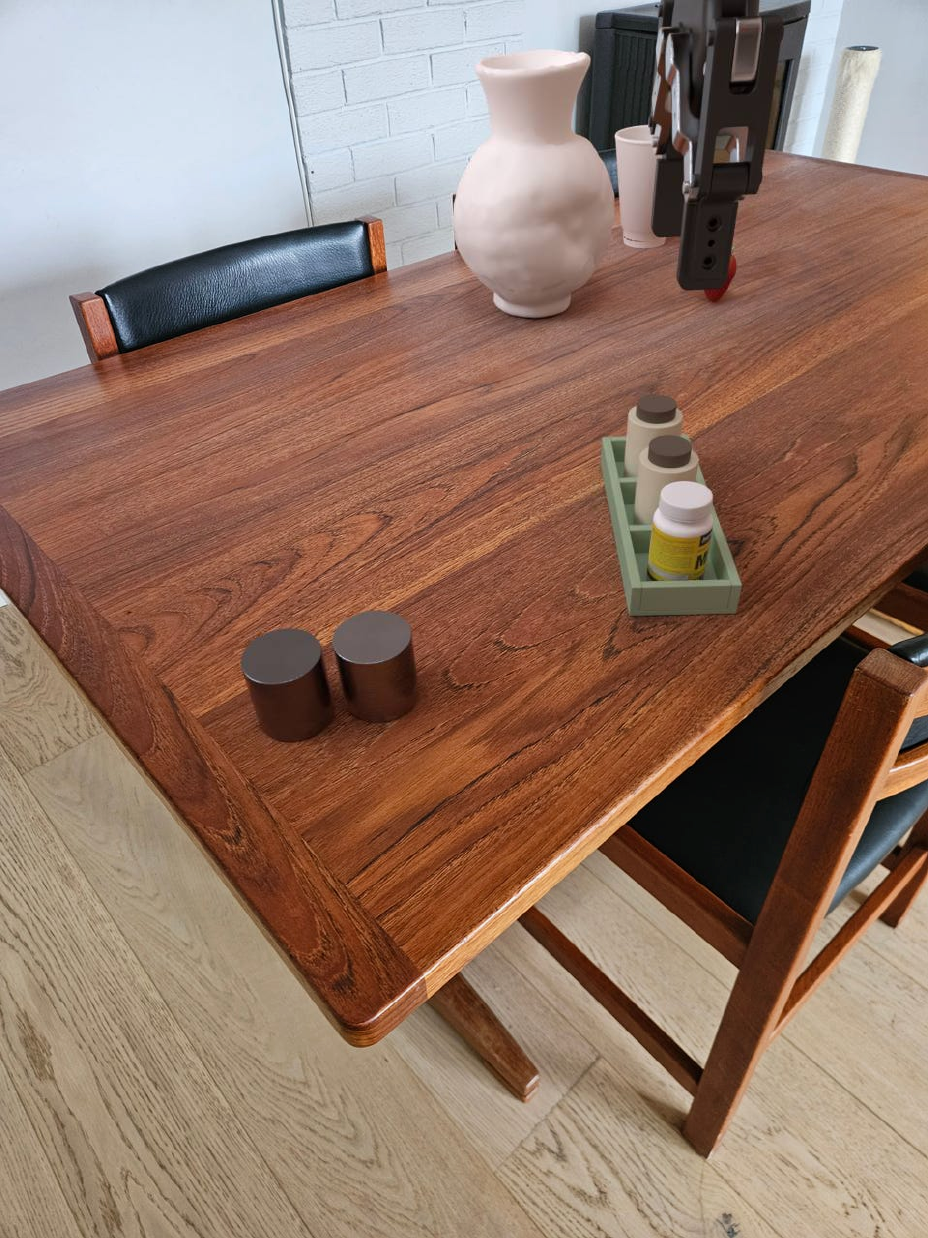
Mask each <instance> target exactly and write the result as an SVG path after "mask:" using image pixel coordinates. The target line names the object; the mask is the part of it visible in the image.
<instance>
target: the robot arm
mask: <svg viewBox="0 0 928 1238" xmlns="http://www.w3.org/2000/svg"><path fill="white" fill-rule="evenodd" d="M760 1H761V0H660V4H658V6H657V18H658V27H657V36H656V37H657V39H656V46H655V60H654V61H655V62H654V71H653V72H654V73H653V84H652V94H651V107H650V115H649V116H648V121H647V125H648V127H650V134H651V135H654V137H652V148H654V155H662V158H659V159H656V170H655V182H654V194H653V205H652V217H651V229H652V231H653V233H654V235H655V236H657V237H666V238H678V237H679V238H680V240H679V248H678V256H677V257H678V258H677V265H676V276H675V278H676V281H677V283H678V286H679V287H680V288H681V290H683V291H687V292H688V291H690V292H691V291H704V290H715V289H719V288H721V287H722V286H723V285H724V284H725V283H726V281H727V277H728V270H729V264H730V257H731V253H732V251H733V250H732V247H733V243H734V237H735V230H736V221H737V216H738V209H739V203H740V202H741V201H744V200H745V199H746V196H750V195H757V194H758V192H759V190H760V185H761V184H762V181H763V176H764V175H763V168H764V167H763V166H764V159H765V154H766V147H767V146H766V145H767V139H768V132H769V126H770V119H771V114H772V113H771V112H772V111H771V110H772V107H773V106H772V105H773V98H774V92H775V86H776V85H775V84H776V78H777V72H778V65H779V58H780V51H781V46H782V45H781V44H782V41H783V39H784V33H785V27H784V22H783V21H784V20H783V18H784V17H783V15H782V14H781V13H776V14H763V15H762V14H761V15H760ZM718 150H719V151H720V150H721V151H722V150H723V151H726V152H727V153H728V155H729V161H728V162H727V161H726V162H714V161H715V152H716V151H718ZM731 250H732V251H731Z"/></svg>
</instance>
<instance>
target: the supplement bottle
mask: <svg viewBox="0 0 928 1238" xmlns="http://www.w3.org/2000/svg"><path fill="white" fill-rule="evenodd" d="M706 486H707V485H706ZM706 486H704V485H702V484H699V483H696V482H690V481H679V482H673V483H670V484H668V485H666V486H665V487H664V488H663V489H662V491H661V496H660V502H659V508H658V509H657V510H656V511H655V513H654V516H653V524H652V532H651V541H650V549H649V557H648V565H647V579H648V581H689V580H703V579H704V574H705V568H706V562H707V557H708V551H709V546H710V540H711V534H712V529H713V517H712V515H711V510H712V503H713V500H714V495H713V492H712V491H711V489H710V488H708V487H706Z"/></svg>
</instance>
